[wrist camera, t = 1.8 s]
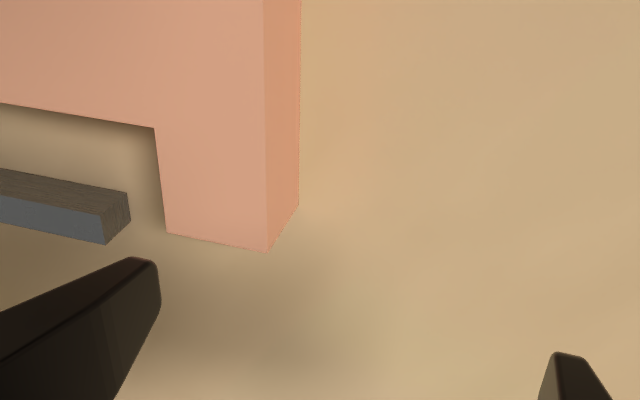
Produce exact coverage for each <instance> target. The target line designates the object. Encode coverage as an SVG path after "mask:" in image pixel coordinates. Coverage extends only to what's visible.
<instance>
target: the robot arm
mask: <svg viewBox="0 0 640 400" xmlns="http://www.w3.org/2000/svg"><path fill="white" fill-rule="evenodd" d="M160 308H161V292H160V285H159V277H158V270H157V266H156V264H155V263H154V262H153V261H151V260H148V259H143V258H139V257H127V258H125V259H123V260H120V261H118V262H116V263H113V264H111V265H109V266H106V267H104V268H102V269H99V270H97V271H95V272H92V273H90V274H88V275H85V276H83V277H81V278H78V279H76V280H74V281H71V282H69V283H67V284H64V285H62V286H60V287H57V288H55V289H53V290H51V291H48V292H46V293H44V294H41V295H39V296H37V297H34V298H32V299H30V300H27V301H25V302H23V303H20V304H18V305H16V306H13V307H11V308H9V309H6V310H4V311H2V312H0V400H114V398H115V396H116V395H117V393H118V391H119V390H120V388H121V386H122V384H123V382H124V381H125V379H126V377H127V375H128V373H129V371H130V369H131V367H132V365H133V363H134V361H135V359H136V357H137V355H138V353H139V351H140V349H141V347H142V345H143V343H144V341H145V340H146V338H147V336H148V334H149V332H150V330H151V328H152V326H153V324H154V322H155V320H156V318H157V316H158V314H159V311H160ZM538 400H613V399H612V398H611V396H610V395H609V393H608V392H607V390H606V389H605V387H604V386H603V384H602V383H601V381H600V380H599V378H598V377H597V375H596V374H595V372H594V371H593V369H592V368H591V366H590V365H589V364H588V362H587V361H586V360H585V359H584V358H582V357H580V356H575V355H571V354H567V353H562V352H554V353H553V354H552V355H551V357H550V360H549V363H548V366H547V369H546V372H545V375H544V379H543V382H542V385H541V388H540V391H539V395H538Z"/></svg>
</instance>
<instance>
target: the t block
mask: <svg viewBox="0 0 640 400" xmlns="http://www.w3.org/2000/svg"><path fill="white" fill-rule="evenodd" d="M300 64H301V0H0V102H1V103H7V104H13V105H19V106H25V107H31V108H37V109H43V110H49V111H55V112H61V113H67V114H73V115H79V116H85V117H91V118H97V119H103V120H109V121H115V122H121V123H127V124H133V125H139V126H145V127H151V128H154V132H155V140H156V148H157V156H158V164H159V173H160V181H161V189H162V197H163V206H164V214H165V222H166V230H167V233H172V234H177V235H181V236H186V237H191V238H196V239H200V240H205V241H210V242H215V243H220V244H224V245H229V246H234V247H239V248H243V249H248V250H253V251H258V252H262V253H268V252H269V250H270V249H271V247H272V246H273V244H274V242H275V241H276V239H277V238H278V236H279V235H280V233H281V232H282V230H283V228H284V227H285V225H286V224H287V222H288V221H289V219H290V217H291V216H292V214H293V213H294V211H295V210H296V208H297V207H298V204H299V134H300Z"/></svg>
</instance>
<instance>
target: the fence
mask: <svg viewBox="0 0 640 400" xmlns="http://www.w3.org/2000/svg"><path fill="white" fill-rule="evenodd" d="M130 221H131V218H130V212H129V206H128V199H127V193H125V192H120V191H115V190H110V189H105V188H100V187H95V186H90V185H84V184H79V183H74V182H69V181H64V180H59V179H54V178H49V177H44V176H38V175H33V174H28V173H23V172H18V171H13V170H8V169H3V168H0V222H2V223H7V224H11V225H16V226H20V227H25V228H29V229H34V230H39V231H43V232H48V233H52V234H57V235H61V236H66V237H70V238H75V239H79V240H84V241H88V242H93V243H97V244H102V245H106V244H107V243H108V242H109V241H110V240H112V239H113V238H114V237H115V236H116V235H117V234H118V233H119V232H120V231H121V230H122V229H123V228H124V227H125V226H126V225H127V224H128V223H129V222H130Z"/></svg>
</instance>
